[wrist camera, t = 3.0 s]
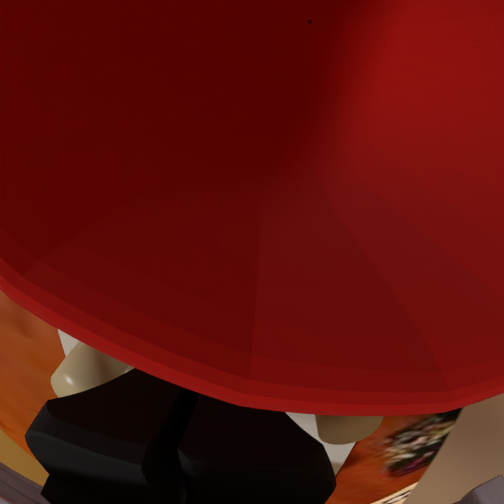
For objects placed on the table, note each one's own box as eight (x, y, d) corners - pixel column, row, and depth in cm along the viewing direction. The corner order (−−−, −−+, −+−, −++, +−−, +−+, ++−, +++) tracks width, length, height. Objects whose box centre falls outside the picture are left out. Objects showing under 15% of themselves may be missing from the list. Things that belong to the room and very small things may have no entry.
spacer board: (312, 498, 19) (316, 540, 15) (129, 481, 19) (117, 519, 15) (401, 307, 12) (447, 369, 8) (58, 278, 12) (2, 325, 8)
